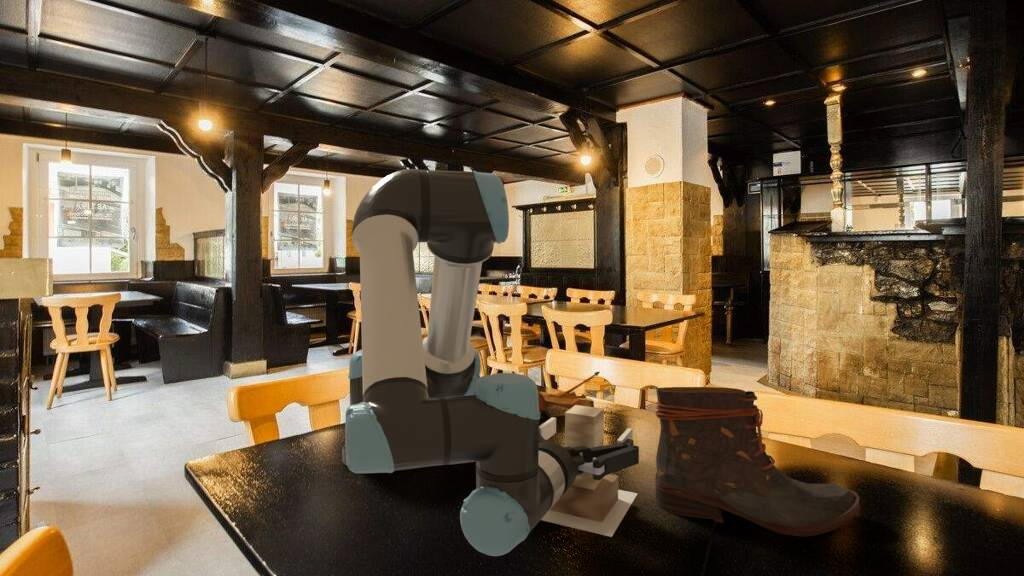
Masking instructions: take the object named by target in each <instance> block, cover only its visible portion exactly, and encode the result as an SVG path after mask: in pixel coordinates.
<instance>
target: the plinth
mask: <svg viewBox="0 0 1024 576" xmlns="http://www.w3.org/2000/svg"><path fill="white" fill-rule="evenodd" d="M618 490H619V475H615V474H608V475H606V476H604V477H603V480H602V481H601V482H600V483H599V485H598V486H597V487H596V488H595V490H591V489H587V488H582V487H577V486H571V487H570V488H569V489H568V490H567V491H566V492H565V494H564V495H563V496H562V497H561V498H560V499H559V500H558V501H557V502H556V503H555V504H554V505H553V507H552V508H551V509H550V510H551V511H555V512H560V513H564V514H568V515H573V516H577V517H581V518H586V519H590V520H594V521H599V522H603V521H604V519H605V518H606V516H607V515H608V513H609V512H610V510H611V509H612V507H613V506H614V504H615V503H616V501H617V500H618Z"/></svg>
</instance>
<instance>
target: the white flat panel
mask: <svg viewBox="0 0 1024 576" xmlns="http://www.w3.org/2000/svg"><path fill="white" fill-rule="evenodd" d="M638 494H639V493H637V492H632V491H627V490H622V489H618V500H617V501H616V503H615V504H614V506H613V507H612V509H611V510H610V512H609V513H608V515H607V516H606V518H605V519H604V521H603V522H599V521H594V520H590V519H586V518H581V517H577V516H573V515H568V514H564V513H560V512H555V511H551V510H549V511H548V512H547V513H546V514H545V515H544V517H543V518H542V519H541V520H540V521H543V522H547V523H552V524H556V525H560V526H564V527H569V528H572V529H578V530H580V531H584V532H588V533H589V532H590V533H594V534H596V535H597V534H599V535H602V536H605V537H610V538H612V537H613V535H614V534H615V533H616V531H617V529H618V527H619V525H620V524H621V522H622V520H623V519H624V517H625V516H626V514H627V512H628V511H629V509H630V507H631V506H632V504H633V503H634V501H635V500H636V497H637V495H638ZM468 497H469V496H467V497H466V498H465V499H464V500H462V501H463V502H465V500H466V499H467V498H468Z"/></svg>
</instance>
